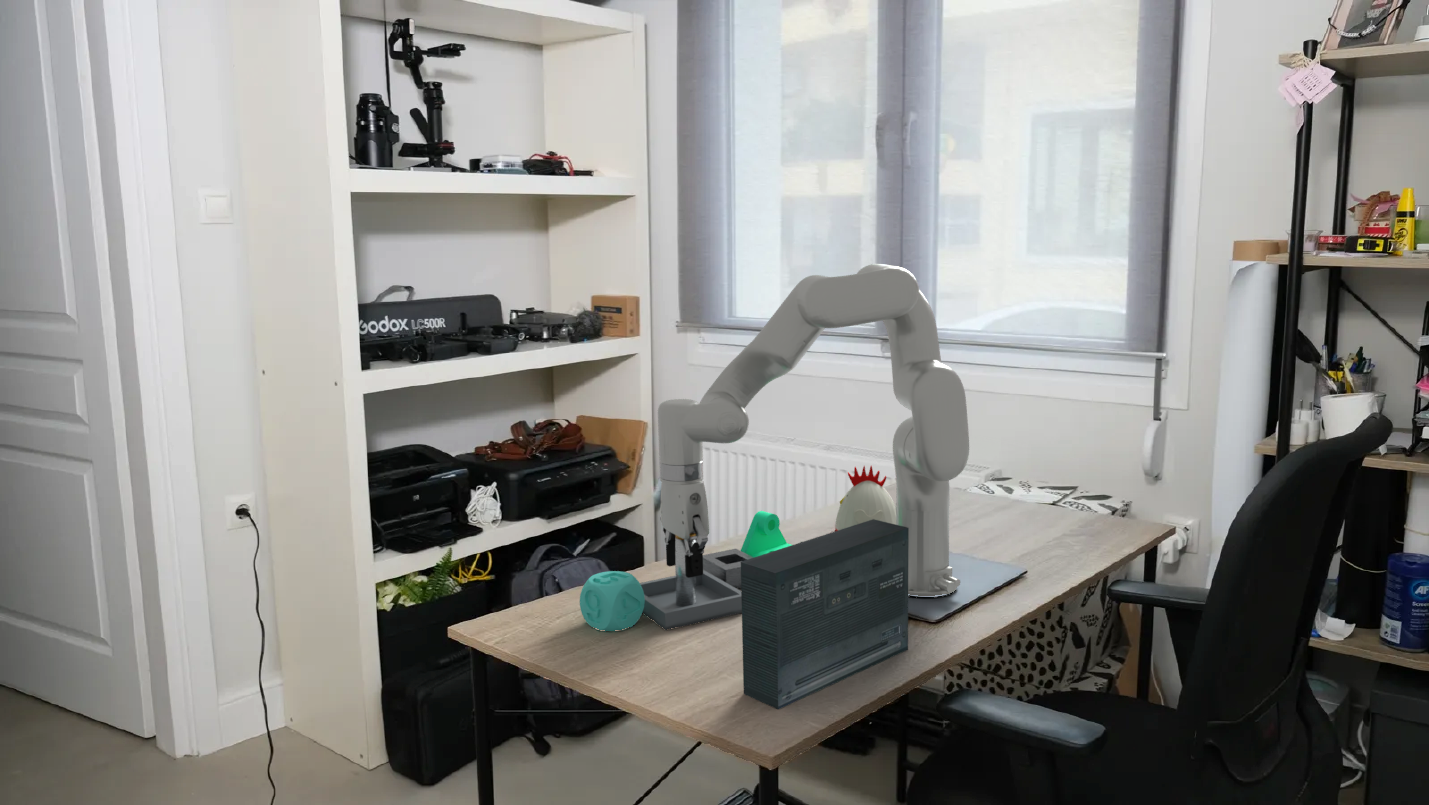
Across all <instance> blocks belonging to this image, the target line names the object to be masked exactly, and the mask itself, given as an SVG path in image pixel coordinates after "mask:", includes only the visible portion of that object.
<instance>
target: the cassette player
mask: <svg viewBox="0 0 1429 805" xmlns="http://www.w3.org/2000/svg"><path fill="white" fill-rule="evenodd" d="M908 548H909V528H908V527H903V526H899V525H895V524H891V523H887V522H883V521H879V520H875V519H872V520H869V521H866V522H863V523H860V524H857V525H854V526H851V527H847V528H844V529H841V530H838V531H835V530H834V531H833V532H832V531H831V532H830V533H826V534H823V535H819V536H817V537H813V538H810V539H808V540H804V541H801V542H798V543H795V544H792V545H791V546H788V547H785V548H782V549H779V550H776V551H773V552H770V553H767V554H763V555H760V556H757V557H754V558H751V559H748V560H745V561H742V562H741V588H740V591H741V598H742V613H741V621H742V622H741V633H742V637H741V638H742V675H743V677H742V678H743V695H745V696H747V697H749V698H751V699H754V700H756V701H758V702H761V703H763V704H766V705H768V706H769V707H772V708H774V709H776V710H781V709H783V708H785V707H786V706H789V705H791V704H794V703H795V702H798V701H801V700H802V699H805V698H806V697H809V696H811V695H812V694H814V693H817V692H820V691H822V690H823V689H826V688H828V687H830V686H832V685H835V684H837V683H839V682H841V681H843V680H845V679H847V678H850V677H852V676H854V675H856V674H858V673H860V672H863V671H865V670H867V669H869V668H871V667H874V666H877V664H880V663H882V662H884V661H887V660H889V659H890V658H893V657H895V656H898V655H900V654H902V653H904V652H906V651H908V650H909V596H908Z"/></svg>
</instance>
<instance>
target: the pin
mask: <svg viewBox="0 0 1429 805" xmlns="http://www.w3.org/2000/svg"><path fill="white" fill-rule="evenodd" d="M689 536H690V537H692V536H696V535H695V533H691V534H689ZM695 542H696V540H692V541H690V543H691V547H692V546H693V544H694V543H695ZM685 555H687V551H686V546H685V542H684V539H682V538H680V537H678V536H677V535H675V576H676V604H677V605H679V606H690V605H694V604H696V576H695V577H690V578H688V577H686V574H685Z"/></svg>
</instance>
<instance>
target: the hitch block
mask: <svg viewBox="0 0 1429 805" xmlns="http://www.w3.org/2000/svg"><path fill="white" fill-rule="evenodd" d="M751 558H754V557H752V556H750V555H748V554H746V553H744V552H742V551H741V549H738V548H732V549H727V550H721V551H716V552H713V553H712V552H711V553H707V554H703V570H705V571H706V572H708V573H710V574H712V575H713V576H715V577H717V578H719V579H720V580H722V581H724V582H726V583H728V584H729V585H731V586H733V587H735V588H736V589H741V562H742V561H745V560H748V559H751Z"/></svg>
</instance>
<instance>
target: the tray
mask: <svg viewBox="0 0 1429 805" xmlns="http://www.w3.org/2000/svg"><path fill="white" fill-rule="evenodd" d="M639 583H640V585H641V586H642V589H643V592H644V597H645V604H644V609H643V612H642V613H644V614H645V615H646V616H648V617H649V618H650V619H652V620H654V621H655V622H656V623H657V624H658V626H659V625H660V626H661V627H660V626H659V627H660V628H662V627H663V628H664V629H665V630H664V629H663V628H662V629H663V630H664V631H668V630H667V629H670V630H672V629H671V628H674V629H676V628H675V627H679V628H682V626H683V627H686V626H690V624H691V625H695V623H696V624H699V623H698V622H700V623H704V622H707V621H708V620H709V621H712V620H711V619H713V620H717V619H720V618H726V617H730V616H733V615H738V614H742V598H741V589H739V588H737V589H736V588H735V587H733V586H731V585H729V584H728V583H726V582H724V581H722V580H720V579H719V578H717V577H715V576H713V575H712V574H710V573H708V572H706V571H705V570H703V574H702V575H700V576H696V604H694V605H690V606H679V605H677V604H676V575H672V576H668V577H666V576H665V577H661V578H657V579H653V580H648V581H643V582H639ZM645 615H644V616H645ZM646 616H645V617H646ZM648 617H647V618H648ZM649 618H648V619H649ZM650 619H649V620H650ZM652 620H651V621H652ZM703 621H704V622H703ZM709 621H708V622H709ZM655 622H654V623H655ZM656 623H655V624H656ZM657 624H656V625H657Z"/></svg>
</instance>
